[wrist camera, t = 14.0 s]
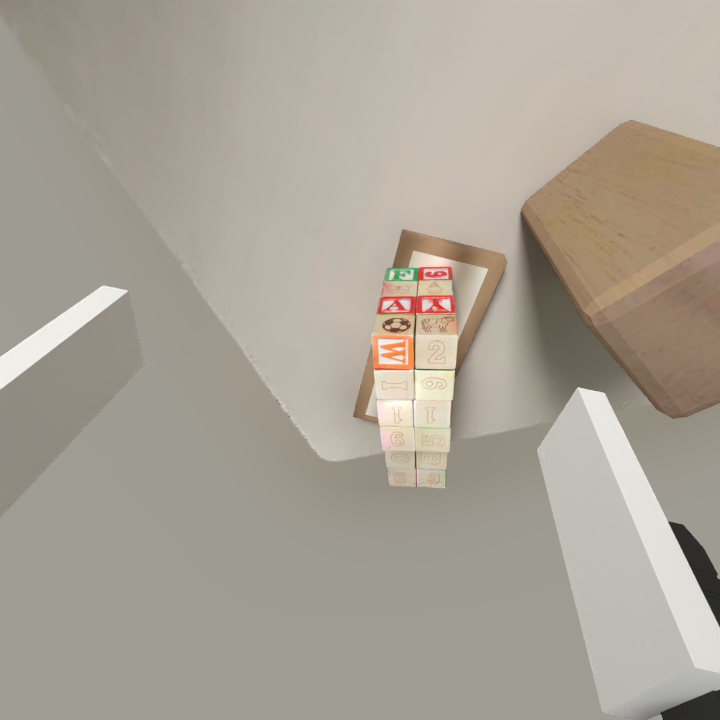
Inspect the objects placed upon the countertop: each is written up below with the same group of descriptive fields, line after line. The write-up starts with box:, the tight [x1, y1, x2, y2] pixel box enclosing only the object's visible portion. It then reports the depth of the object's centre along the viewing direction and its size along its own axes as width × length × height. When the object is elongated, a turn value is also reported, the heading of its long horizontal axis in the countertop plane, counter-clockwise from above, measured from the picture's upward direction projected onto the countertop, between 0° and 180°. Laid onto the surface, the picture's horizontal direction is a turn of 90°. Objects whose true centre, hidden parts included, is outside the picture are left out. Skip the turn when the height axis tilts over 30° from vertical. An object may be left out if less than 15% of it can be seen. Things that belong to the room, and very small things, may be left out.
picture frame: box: [353, 229, 507, 423], centre depth 46 cm, size 10×24×2 cm, turn 169°
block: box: [521, 120, 720, 419], centre depth 28 cm, size 10×10×20 cm
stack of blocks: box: [371, 267, 458, 488], centre depth 40 cm, size 21×6×12 cm, turn 5°
